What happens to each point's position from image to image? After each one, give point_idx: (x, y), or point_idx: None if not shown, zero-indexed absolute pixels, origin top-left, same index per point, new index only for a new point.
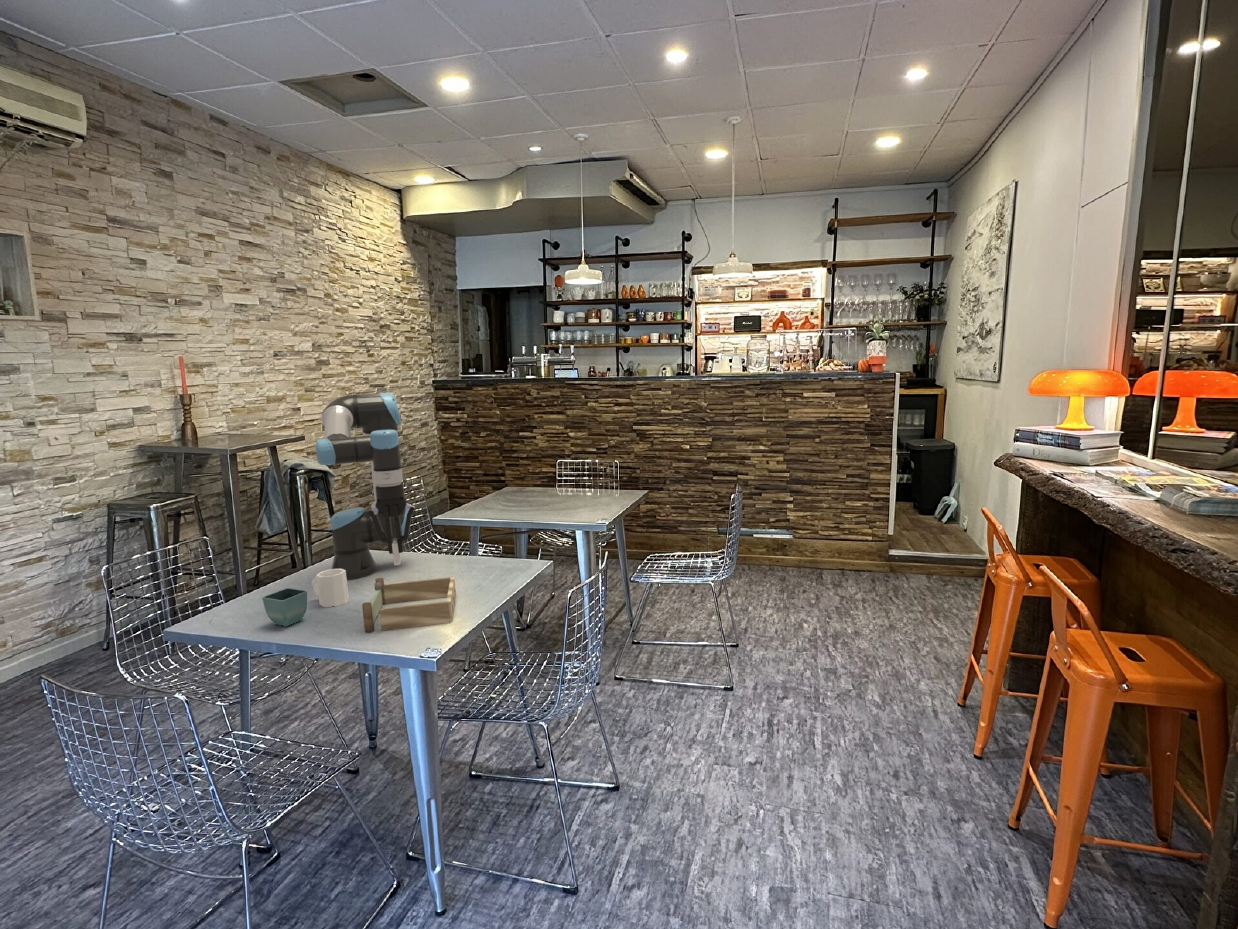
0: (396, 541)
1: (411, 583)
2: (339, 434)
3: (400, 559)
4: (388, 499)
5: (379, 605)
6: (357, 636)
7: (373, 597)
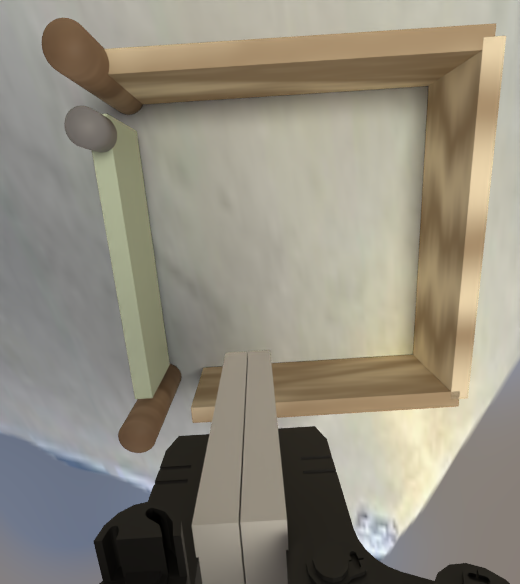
0: (256, 548)
1: (262, 66)
2: None
3: (271, 364)
4: None
5: (142, 205)
6: None
7: (117, 262)
